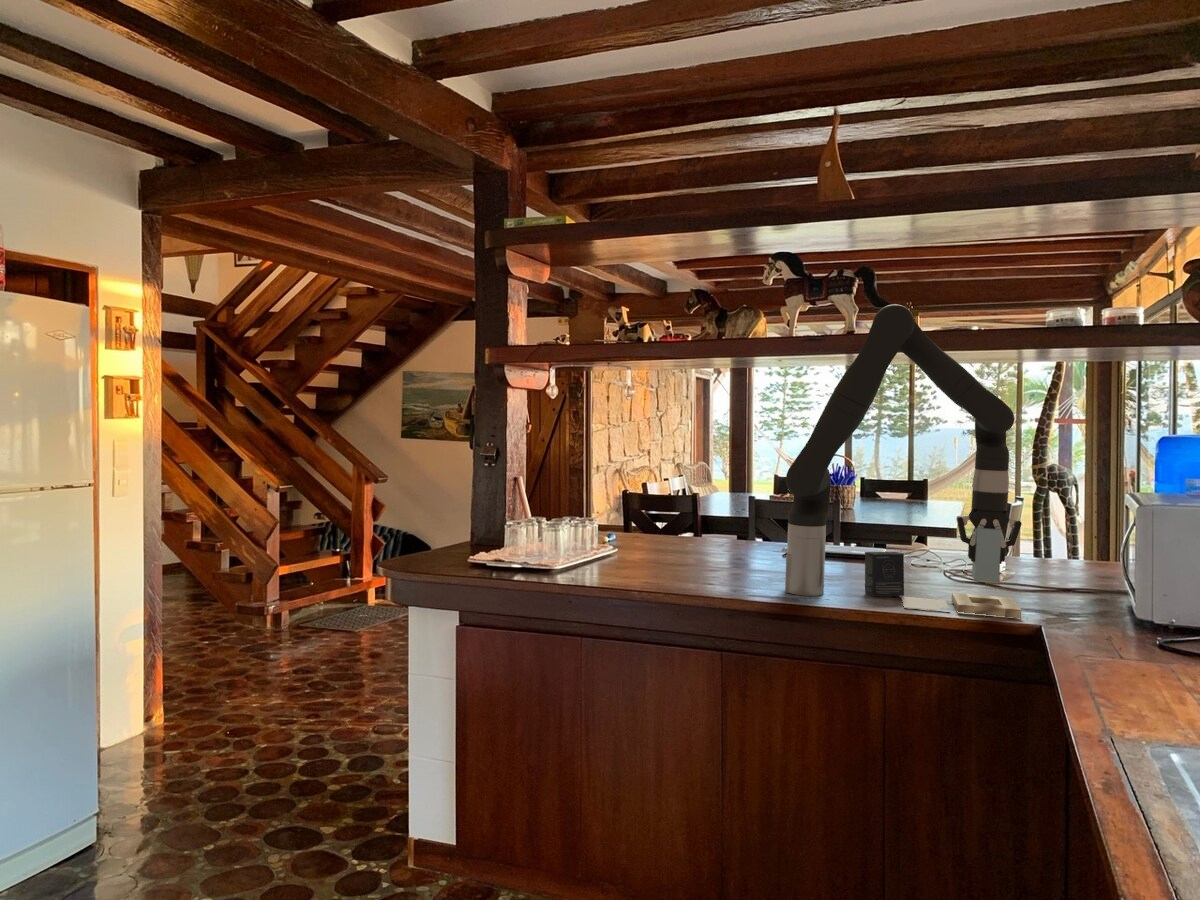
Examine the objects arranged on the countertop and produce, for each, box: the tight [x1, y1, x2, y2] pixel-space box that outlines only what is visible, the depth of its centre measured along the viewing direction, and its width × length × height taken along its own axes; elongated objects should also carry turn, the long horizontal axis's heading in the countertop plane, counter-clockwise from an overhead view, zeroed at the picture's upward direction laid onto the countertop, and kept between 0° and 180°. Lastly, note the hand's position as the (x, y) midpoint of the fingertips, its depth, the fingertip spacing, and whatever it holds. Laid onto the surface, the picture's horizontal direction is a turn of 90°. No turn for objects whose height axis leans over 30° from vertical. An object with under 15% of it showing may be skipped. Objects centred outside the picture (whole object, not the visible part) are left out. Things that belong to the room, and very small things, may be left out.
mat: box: [900, 596, 950, 610], centre depth 196 cm, size 10×12×1 cm
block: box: [971, 528, 1003, 583], centre depth 192 cm, size 5×5×12 cm
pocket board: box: [951, 592, 1022, 620], centre depth 192 cm, size 13×13×2 cm
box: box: [864, 551, 905, 597], centre depth 205 cm, size 8×6×11 cm
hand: (986, 561), depth 192 cm, fingers closed on block, 5 cm apart
